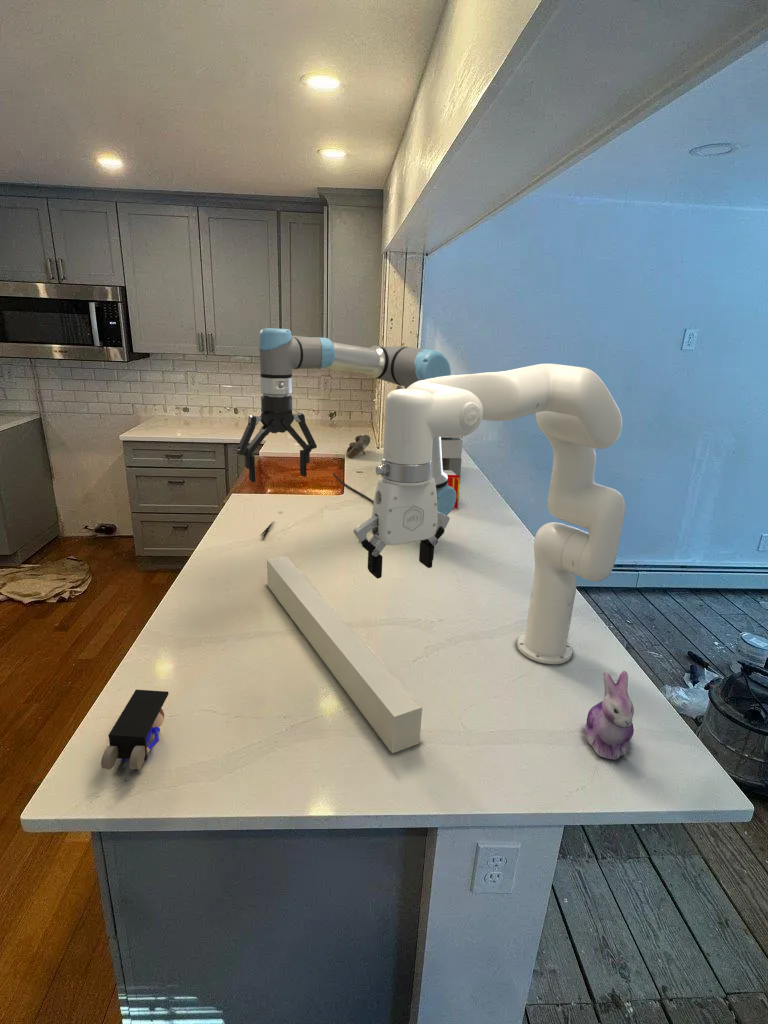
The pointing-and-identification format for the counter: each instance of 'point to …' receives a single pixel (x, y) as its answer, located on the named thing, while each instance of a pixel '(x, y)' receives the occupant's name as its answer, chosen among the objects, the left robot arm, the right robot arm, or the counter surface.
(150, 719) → the figurine character
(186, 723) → the counter surface
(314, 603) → the bar
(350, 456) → the fossil
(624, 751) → the figurine
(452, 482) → the red striped box
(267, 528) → the feather
